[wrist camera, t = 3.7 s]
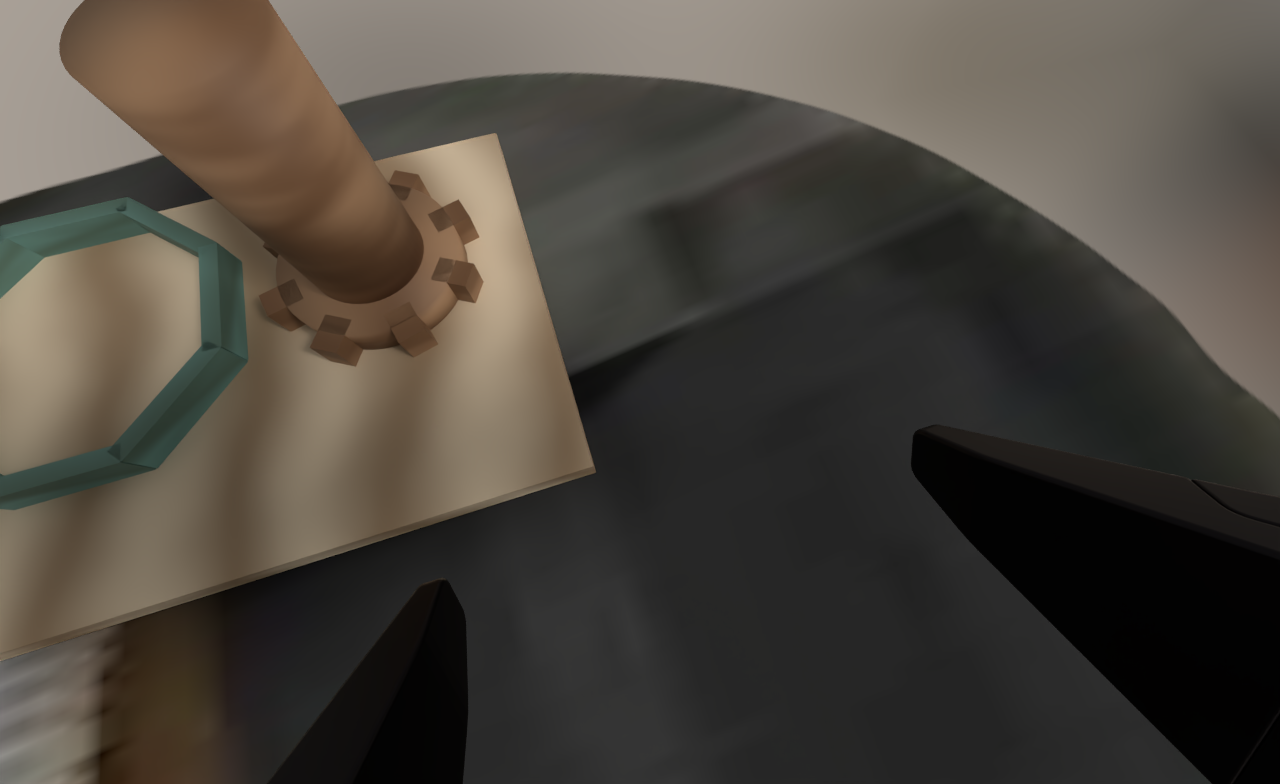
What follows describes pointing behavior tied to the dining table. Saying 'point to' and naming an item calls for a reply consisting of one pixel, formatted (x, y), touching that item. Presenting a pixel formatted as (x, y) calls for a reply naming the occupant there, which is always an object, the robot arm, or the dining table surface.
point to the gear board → (247, 407)
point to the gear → (280, 167)
